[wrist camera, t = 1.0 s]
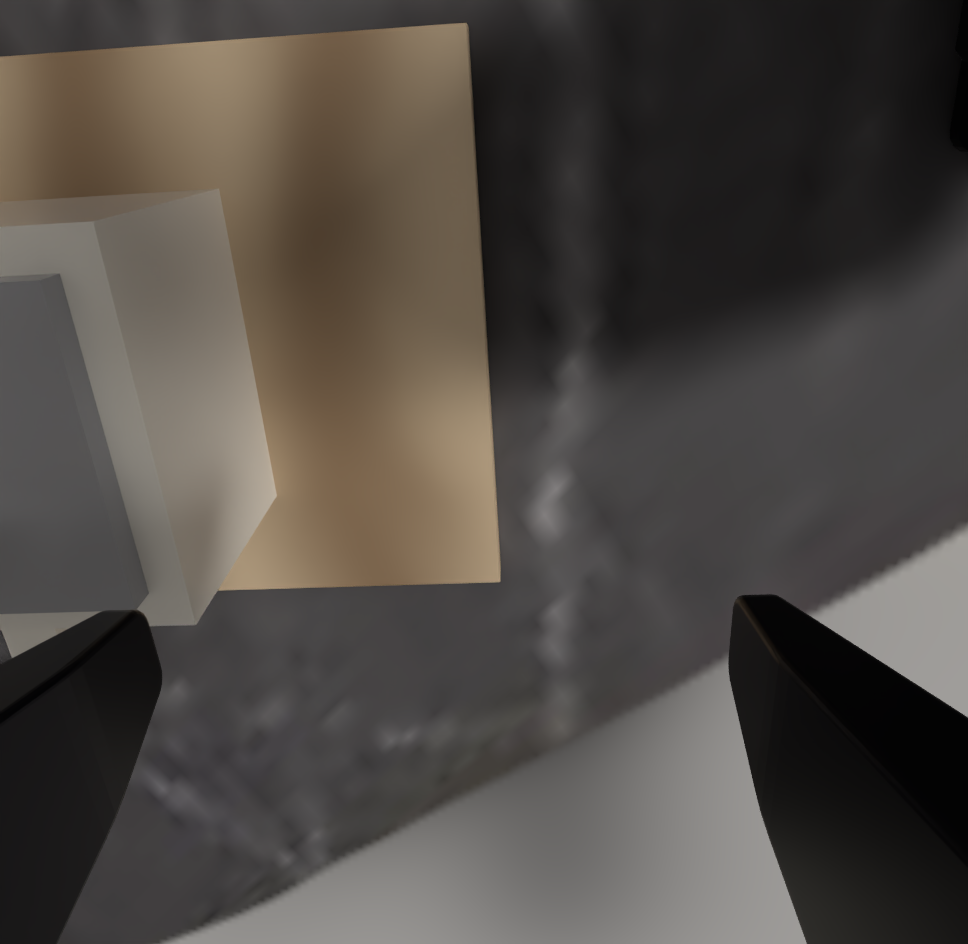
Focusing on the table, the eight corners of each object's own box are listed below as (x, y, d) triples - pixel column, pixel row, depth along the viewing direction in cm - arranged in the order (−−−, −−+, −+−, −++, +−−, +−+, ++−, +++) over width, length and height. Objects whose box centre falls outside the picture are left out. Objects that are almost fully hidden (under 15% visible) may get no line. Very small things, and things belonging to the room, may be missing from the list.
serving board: (468, 26, 18) (466, 22, 17) (500, 567, 23) (500, 581, 23) (-371, 87, 19) (-406, 86, 18) (-142, 587, 25) (-162, 601, 24)
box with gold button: (219, 188, 18) (74, 226, 12) (288, 558, 23) (205, 720, 17) (-108, 208, 19) (-399, 254, 13) (19, 566, 23) (-157, 727, 17)
